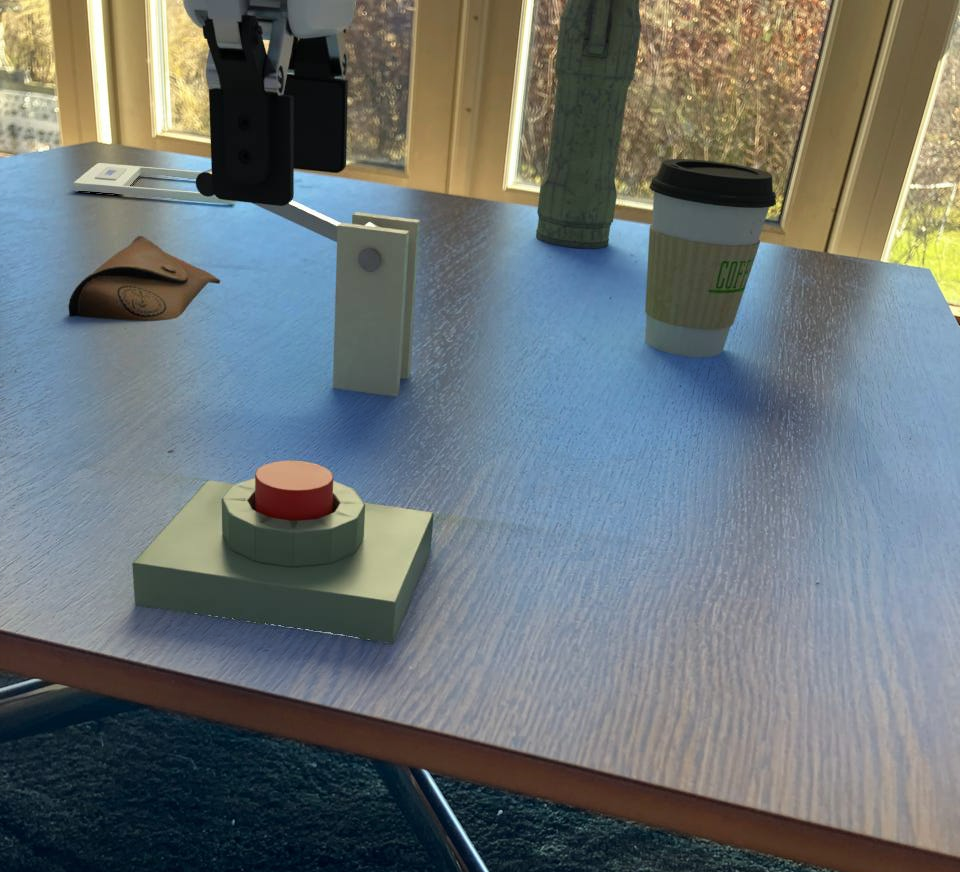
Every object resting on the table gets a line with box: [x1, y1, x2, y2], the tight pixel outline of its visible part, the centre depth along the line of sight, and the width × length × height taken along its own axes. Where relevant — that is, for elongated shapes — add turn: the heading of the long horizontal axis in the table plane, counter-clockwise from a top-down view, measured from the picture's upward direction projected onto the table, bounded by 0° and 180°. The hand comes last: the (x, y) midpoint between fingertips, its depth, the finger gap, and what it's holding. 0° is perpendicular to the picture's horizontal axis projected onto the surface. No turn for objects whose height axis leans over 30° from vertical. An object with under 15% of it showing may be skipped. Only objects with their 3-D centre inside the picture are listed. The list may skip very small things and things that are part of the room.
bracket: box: [332, 211, 421, 398], centre depth 76 cm, size 10×8×12 cm
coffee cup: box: [644, 158, 777, 358], centre depth 91 cm, size 10×10×15 cm
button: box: [254, 460, 334, 521], centre depth 53 cm, size 4×4×2 cm
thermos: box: [535, 0, 642, 250], centre depth 125 cm, size 9×12×35 cm
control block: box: [131, 477, 435, 645], centre depth 54 cm, size 12×10×4 cm
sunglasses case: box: [67, 235, 221, 322], centre depth 92 cm, size 18×7×7 cm
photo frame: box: [73, 162, 236, 205], centre depth 137 cm, size 15×1×18 cm
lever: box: [195, 168, 379, 243], centre depth 73 cm, size 13×6×2 cm, turn 82°
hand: (285, 184), depth 50 cm, fingers open, 9 cm apart
